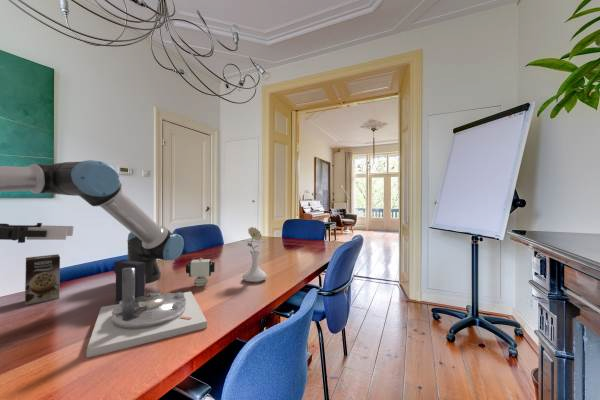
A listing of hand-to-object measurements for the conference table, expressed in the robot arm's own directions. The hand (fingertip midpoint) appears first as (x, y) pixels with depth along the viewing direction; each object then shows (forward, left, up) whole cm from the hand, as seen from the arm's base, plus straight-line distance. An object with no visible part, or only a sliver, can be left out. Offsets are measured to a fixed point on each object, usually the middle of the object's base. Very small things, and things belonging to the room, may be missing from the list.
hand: (70, 232), depth 67 cm
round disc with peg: (-5, +19, -27) cm, 34 cm away
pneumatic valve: (-31, +39, -30) cm, 58 cm away
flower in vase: (-26, +62, -30) cm, 73 cm away
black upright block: (-25, +13, -30) cm, 41 cm away
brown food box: (-44, -15, -30) cm, 56 cm away
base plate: (-5, +19, -30) cm, 35 cm away
